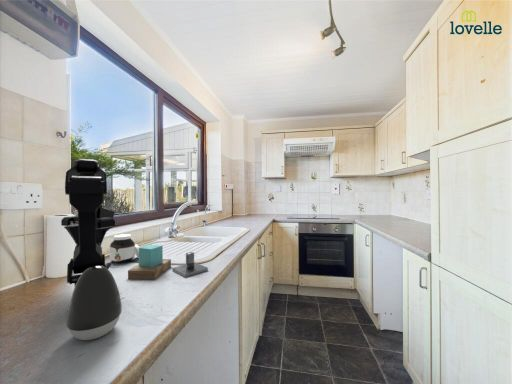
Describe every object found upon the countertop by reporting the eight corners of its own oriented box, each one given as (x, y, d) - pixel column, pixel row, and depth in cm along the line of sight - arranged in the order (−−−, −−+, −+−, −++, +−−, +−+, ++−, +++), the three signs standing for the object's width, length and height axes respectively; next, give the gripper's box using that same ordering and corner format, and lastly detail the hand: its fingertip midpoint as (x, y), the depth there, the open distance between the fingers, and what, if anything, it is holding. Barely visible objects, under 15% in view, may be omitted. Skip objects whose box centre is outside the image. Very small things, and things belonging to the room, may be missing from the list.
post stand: (184, 277, 84) (184, 258, 84) (172, 270, 91) (172, 253, 91) (207, 270, 91) (207, 253, 91) (194, 265, 98) (194, 248, 98)
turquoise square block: (151, 267, 86) (150, 249, 86) (138, 265, 88) (138, 247, 88) (162, 262, 92) (162, 245, 92) (151, 261, 94) (150, 244, 94)
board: (154, 279, 83) (154, 270, 83) (128, 278, 83) (127, 270, 83) (170, 266, 97) (170, 259, 97) (148, 265, 97) (147, 258, 97)
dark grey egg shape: (130, 319, 57) (130, 258, 57) (104, 347, 47) (104, 273, 47) (89, 319, 57) (88, 259, 57) (53, 348, 46) (52, 274, 46)
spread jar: (106, 262, 102) (106, 236, 102) (127, 255, 113) (127, 232, 113) (127, 265, 99) (127, 238, 99) (147, 257, 110) (147, 233, 110)
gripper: (129, 200, 82) (129, 243, 82) (93, 199, 88) (93, 240, 89) (98, 202, 72) (99, 251, 72) (60, 201, 78) (60, 246, 78)
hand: (88, 247), depth 78 cm, fingers open, 9 cm apart
